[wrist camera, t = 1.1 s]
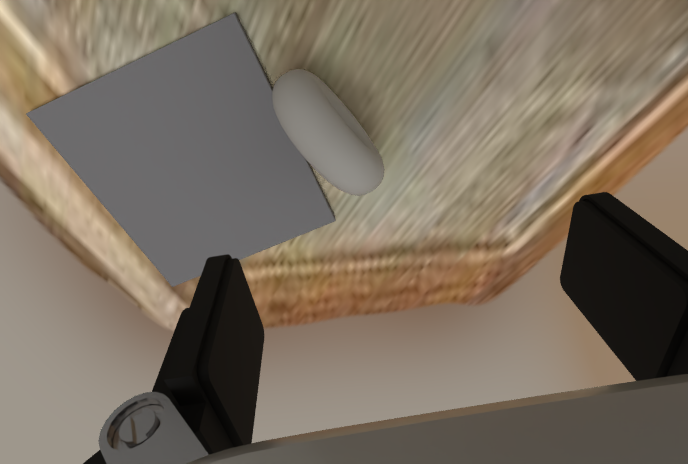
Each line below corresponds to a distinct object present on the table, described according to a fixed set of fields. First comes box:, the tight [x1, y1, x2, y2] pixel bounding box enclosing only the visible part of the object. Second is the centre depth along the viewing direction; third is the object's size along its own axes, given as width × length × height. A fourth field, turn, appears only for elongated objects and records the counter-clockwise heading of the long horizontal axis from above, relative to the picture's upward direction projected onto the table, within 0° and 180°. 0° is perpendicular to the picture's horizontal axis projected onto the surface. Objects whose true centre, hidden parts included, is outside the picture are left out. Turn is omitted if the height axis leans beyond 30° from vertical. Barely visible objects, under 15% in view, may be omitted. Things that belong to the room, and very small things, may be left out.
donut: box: [272, 69, 384, 196], centre depth 28 cm, size 10×4×10 cm, turn 40°
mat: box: [26, 12, 335, 287], centre depth 33 cm, size 17×18×1 cm
